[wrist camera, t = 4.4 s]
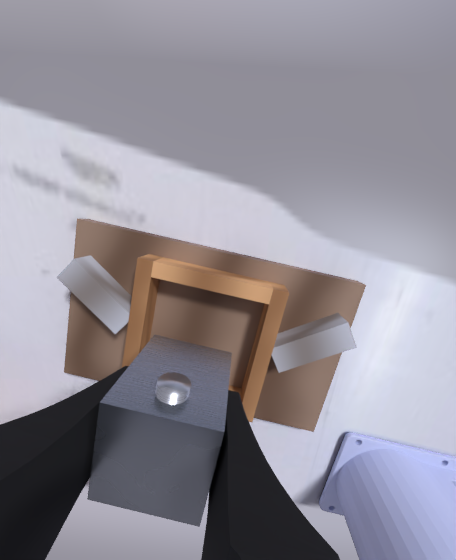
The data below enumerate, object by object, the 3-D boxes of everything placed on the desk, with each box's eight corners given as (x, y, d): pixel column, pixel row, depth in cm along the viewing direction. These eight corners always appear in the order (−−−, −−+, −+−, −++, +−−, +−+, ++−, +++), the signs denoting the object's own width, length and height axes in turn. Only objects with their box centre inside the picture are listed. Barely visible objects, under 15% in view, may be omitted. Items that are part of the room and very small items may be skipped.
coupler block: (233, 345, 13) (227, 421, 8) (213, 424, 14) (197, 534, 9) (155, 327, 13) (101, 391, 8) (142, 407, 14) (86, 508, 9)
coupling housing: (358, 281, 18) (381, 293, 15) (309, 420, 21) (321, 454, 18) (87, 219, 18) (56, 218, 15) (74, 364, 21) (44, 388, 18)
